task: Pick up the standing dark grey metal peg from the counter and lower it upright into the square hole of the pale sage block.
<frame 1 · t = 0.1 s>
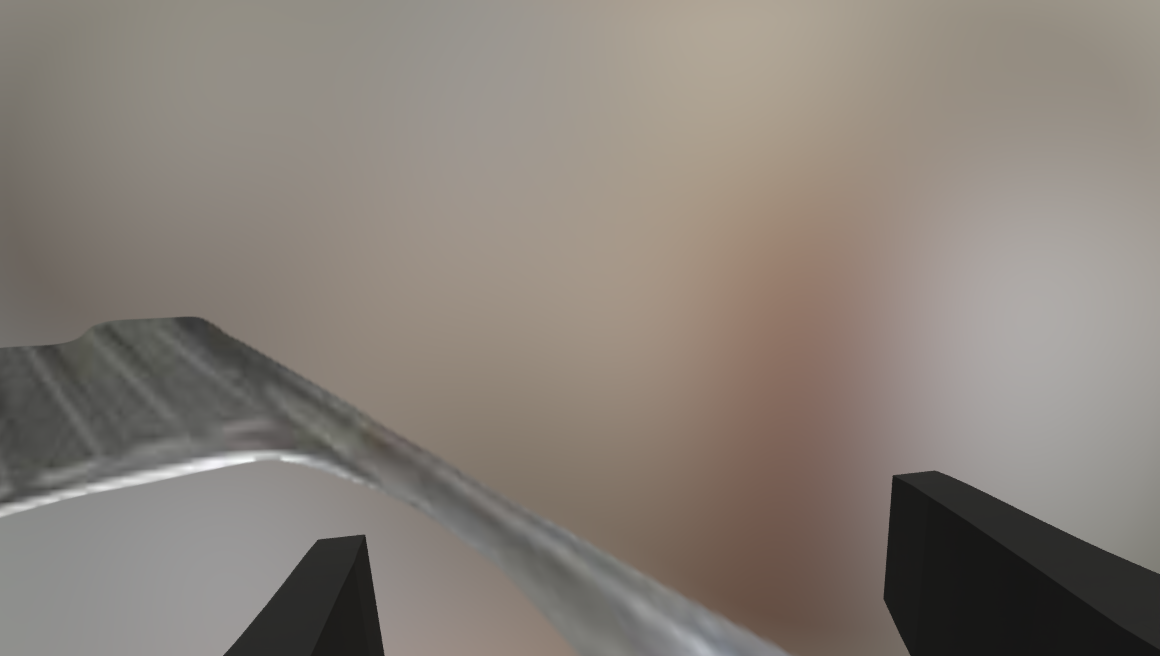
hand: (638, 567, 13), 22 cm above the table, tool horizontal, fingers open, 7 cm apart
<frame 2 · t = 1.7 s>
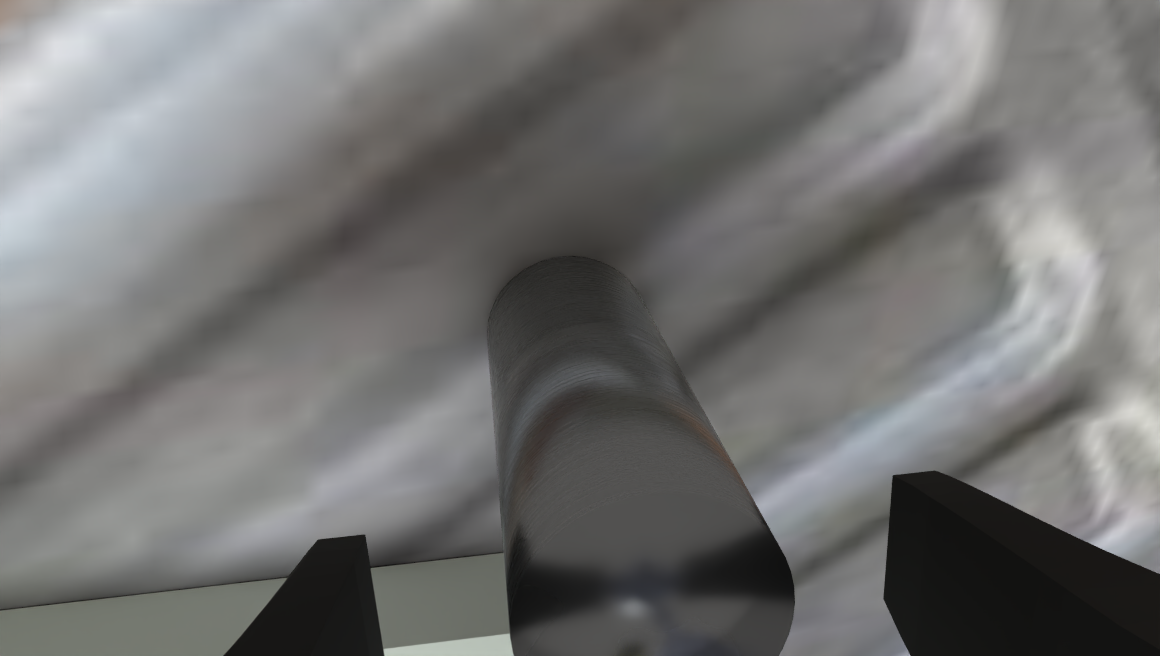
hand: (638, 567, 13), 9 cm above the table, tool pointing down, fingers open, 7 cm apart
peg: (568, 333, 21), on the table
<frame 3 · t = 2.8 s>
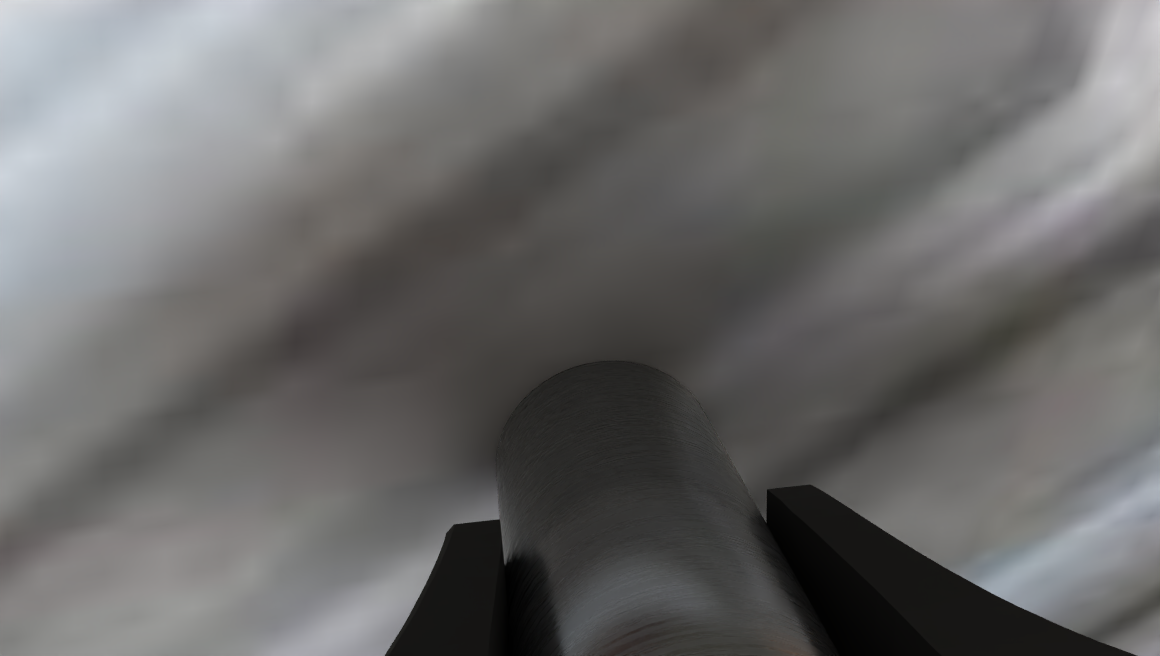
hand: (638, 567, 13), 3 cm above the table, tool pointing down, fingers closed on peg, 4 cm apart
peg: (606, 462, 15), on the table, touching gripper
when the fingers open (4 cm above the table, at t = 7.0 s): peg drops 1 cm, resting in hole block.
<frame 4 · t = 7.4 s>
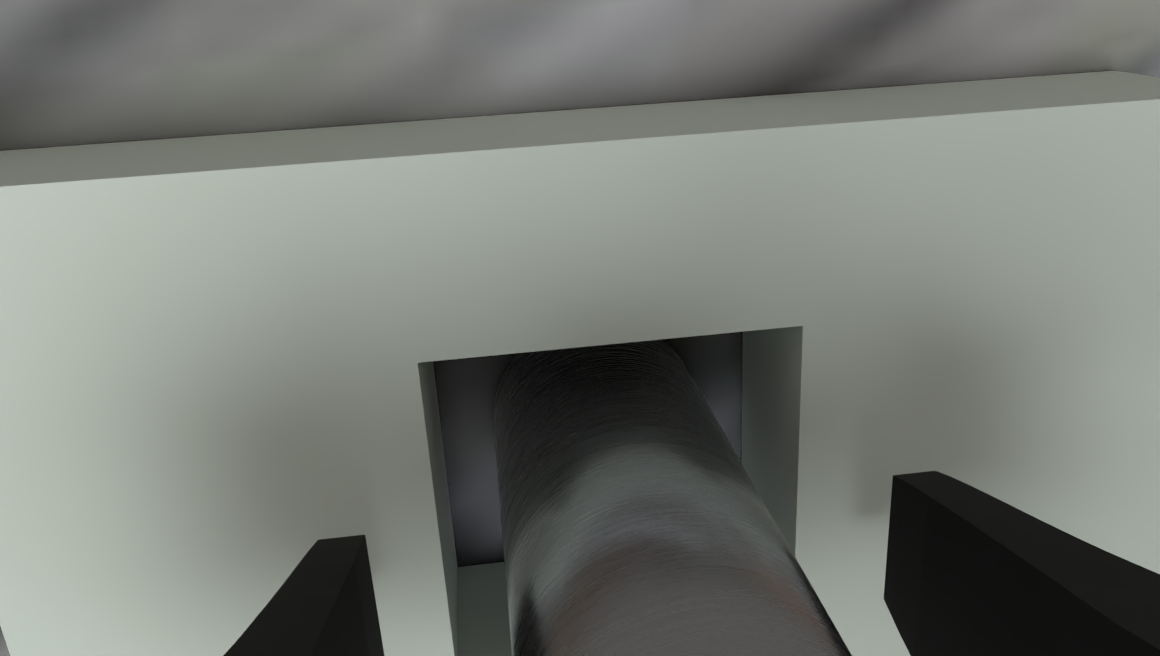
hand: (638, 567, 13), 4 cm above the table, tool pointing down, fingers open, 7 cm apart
hole block: (594, 422, 17), on the table
peg: (594, 411, 17), resting in hole block
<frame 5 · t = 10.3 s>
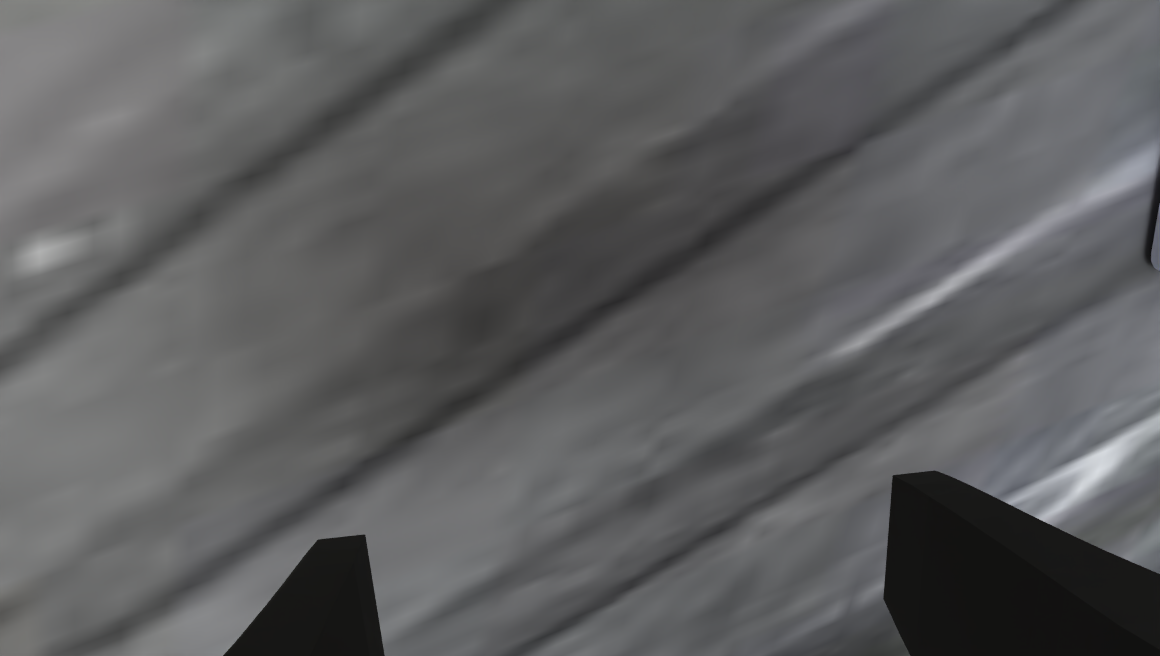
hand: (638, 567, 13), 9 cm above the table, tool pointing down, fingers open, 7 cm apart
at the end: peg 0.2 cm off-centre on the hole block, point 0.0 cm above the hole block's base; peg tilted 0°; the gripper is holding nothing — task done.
